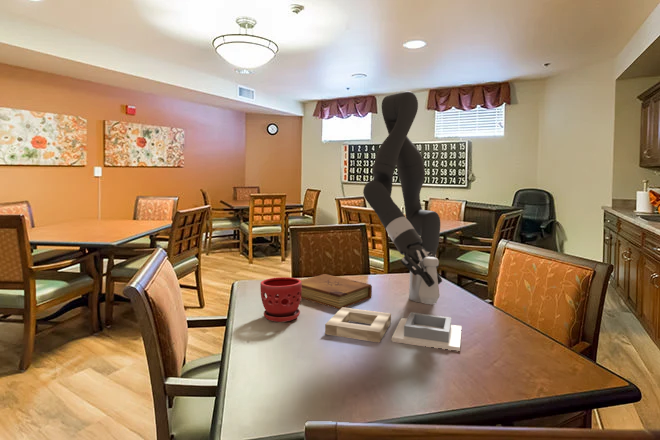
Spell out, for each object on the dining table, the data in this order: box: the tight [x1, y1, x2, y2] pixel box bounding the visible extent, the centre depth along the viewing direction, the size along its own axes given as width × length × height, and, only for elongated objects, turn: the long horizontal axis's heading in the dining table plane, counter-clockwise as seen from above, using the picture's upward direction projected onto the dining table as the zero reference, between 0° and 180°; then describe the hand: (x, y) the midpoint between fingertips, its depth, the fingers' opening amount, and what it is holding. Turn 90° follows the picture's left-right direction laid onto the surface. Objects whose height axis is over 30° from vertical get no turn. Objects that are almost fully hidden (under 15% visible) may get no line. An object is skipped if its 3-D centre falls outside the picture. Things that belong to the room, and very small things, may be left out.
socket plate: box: [391, 311, 463, 352], centre depth 117 cm, size 16×18×4 cm
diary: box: [301, 273, 373, 310], centre depth 153 cm, size 23×19×6 cm
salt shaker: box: [419, 257, 440, 305], centre depth 115 cm, size 6×6×13 cm
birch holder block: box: [324, 307, 392, 343], centre depth 121 cm, size 16×16×3 cm
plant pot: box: [259, 276, 302, 323], centre depth 130 cm, size 13×13×12 cm
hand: (435, 283), depth 114 cm, fingers closed on salt shaker, 3 cm apart
